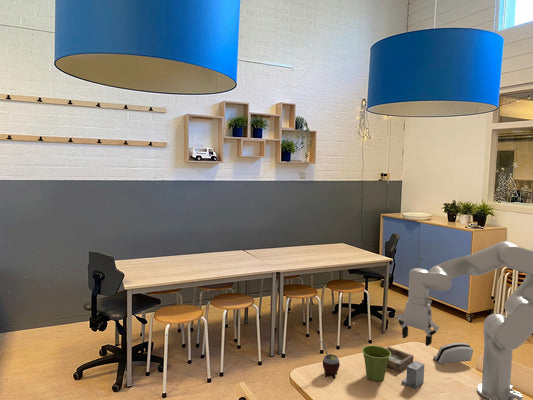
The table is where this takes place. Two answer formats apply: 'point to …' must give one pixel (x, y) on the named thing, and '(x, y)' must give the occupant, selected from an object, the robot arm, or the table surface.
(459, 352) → the grey rounded block
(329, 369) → the mate gourd
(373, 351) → the plant pot
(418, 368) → the grey block
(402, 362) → the square wooden tray
